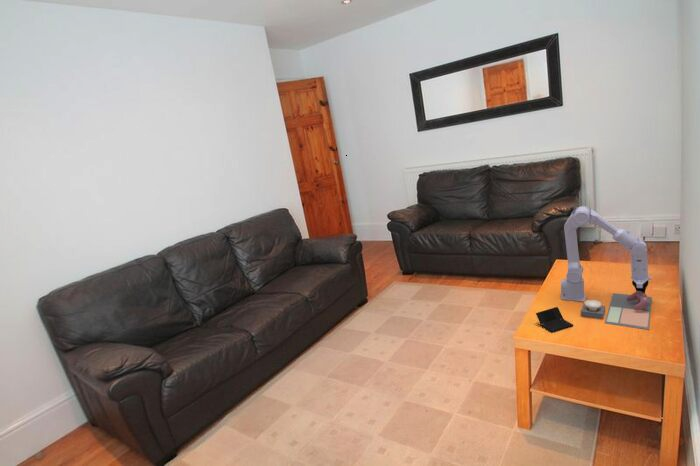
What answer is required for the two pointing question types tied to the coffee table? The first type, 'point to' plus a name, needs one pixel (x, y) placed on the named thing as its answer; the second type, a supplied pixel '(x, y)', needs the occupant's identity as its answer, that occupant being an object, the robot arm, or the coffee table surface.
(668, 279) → the coffee table surface
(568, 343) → the coffee table surface
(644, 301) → the video game controller
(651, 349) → the coffee table surface
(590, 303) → the button
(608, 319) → the grey flat board
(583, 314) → the button housing
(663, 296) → the coffee table surface
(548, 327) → the handheld gaming console
